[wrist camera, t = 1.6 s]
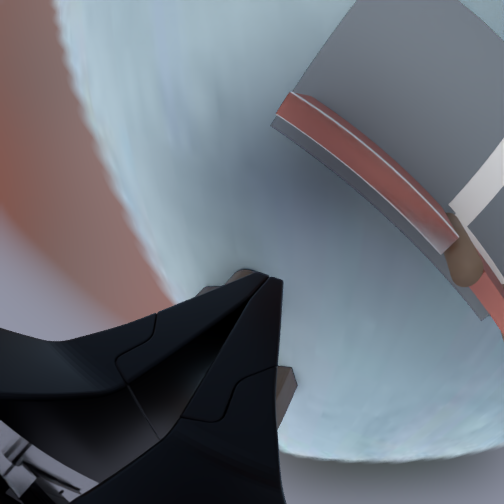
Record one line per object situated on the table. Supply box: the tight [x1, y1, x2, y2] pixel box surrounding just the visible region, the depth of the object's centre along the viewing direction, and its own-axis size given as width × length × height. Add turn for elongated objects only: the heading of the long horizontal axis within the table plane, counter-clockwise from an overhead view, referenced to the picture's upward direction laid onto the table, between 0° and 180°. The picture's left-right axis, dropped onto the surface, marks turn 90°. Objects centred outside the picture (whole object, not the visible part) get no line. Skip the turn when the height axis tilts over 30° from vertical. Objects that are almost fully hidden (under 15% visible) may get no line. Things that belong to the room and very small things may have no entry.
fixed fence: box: [443, 213, 504, 340], centre depth 12 cm, size 9×2×6 cm, turn 59°
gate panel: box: [276, 91, 459, 255], centre depth 12 cm, size 10×1×4 cm, turn 59°
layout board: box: [270, 0, 504, 321], centre depth 11 cm, size 21×15×1 cm
